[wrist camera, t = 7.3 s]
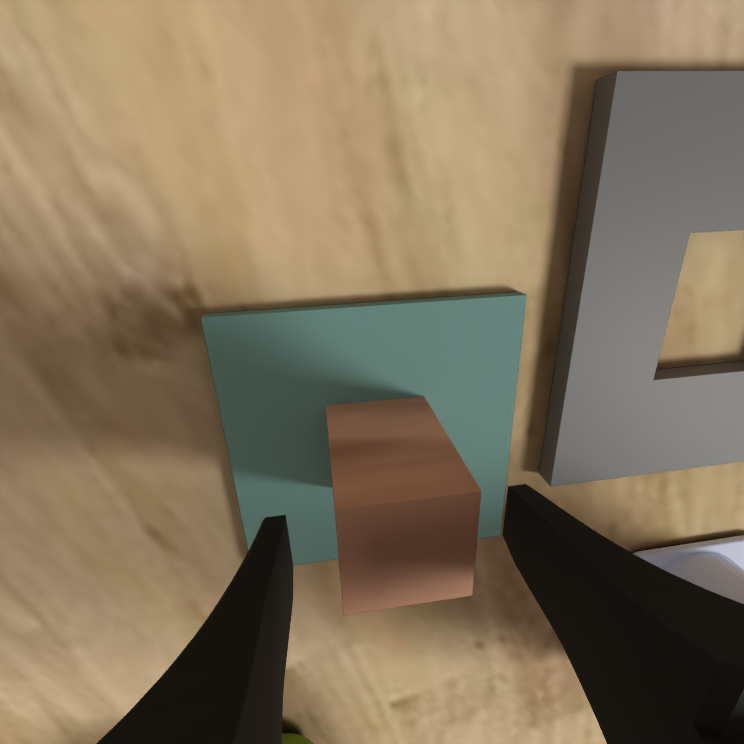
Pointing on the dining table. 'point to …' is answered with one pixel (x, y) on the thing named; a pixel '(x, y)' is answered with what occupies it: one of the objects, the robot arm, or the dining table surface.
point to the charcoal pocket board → (646, 281)
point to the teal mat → (359, 396)
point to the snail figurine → (294, 739)
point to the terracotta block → (400, 506)
